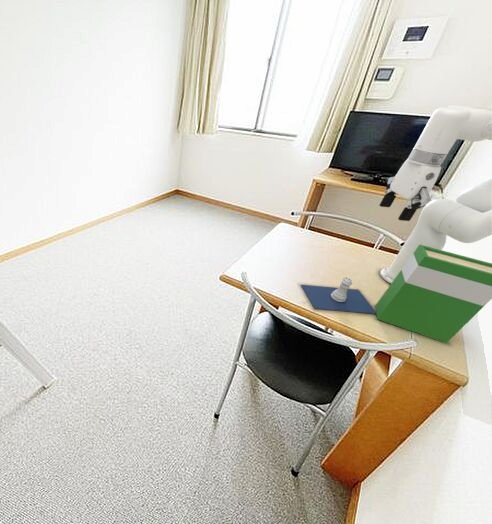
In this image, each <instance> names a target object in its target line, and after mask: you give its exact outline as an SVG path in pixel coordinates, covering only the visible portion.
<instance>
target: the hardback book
mask: <svg viewBox="0 0 492 524" xmlns="http://www.w3.org/2000/svg"><path fill="white" fill-rule="evenodd" d="M490 301H492V262H488V261H484V260H481V259H478V258H477V259H476V258H473V257H469V256H465V255H461V254H458V253H455V252H450V251H446V250H443V249H442V250H439V249H435V248H431V247H427V246H423V245H419V246H418V247H417V249H416V250H415V252H414V253H413V254H412V256H411V257H410V258H409V260H408V261H407V263H406V264H405V265H404V267H403V268H402V269H401V271H400V272H399V274H398V275H397V276H396V278H395V279H394V280H393V282H392V283H391V284H389V286H388V287H387V288H386V289H385V291H384V293H383V294H382V295H381V296H380V298H379V300H378V301H377V303H376V304H375V305H374V307H375V311H376V313H377V314H376V318H377V320H379V321H380V322H381V321H382V322H385V323H387V324H391V325H393V326H395V327H399V328H402V329H404V330H406V331H410V332H413V333H416V334H419V335H421V336H425V337H427V338H431V339H433V340H436V341H438V342H441V343H445V344H448V343H449V342H450V340H452V338H454V336H456V335H457V333H459V332H460V331H461V329H463V327H465V326H466V325H467V324H468V323H469V322H470V321H471V320H472V319H473V318H474V317H475V316H476V315H477V314H478V313H479V312H480V311H481V310H482V309H483V308H484V307H485V306H486V305H487V304H488V303H489V302H490Z"/></svg>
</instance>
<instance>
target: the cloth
mask: <svg viewBox="0 0 492 524" xmlns="http://www.w3.org/2000/svg"><path fill="white" fill-rule="evenodd" d="M300 286H301V288H302V289H303V291H304V293H305V295H306V297H307V298H308V300H309V302H310V304H311V305H312V307H313V309H314V310H323V311H335V312H347V313H357V314H358V313H359V314H367V315H369V314H370V315H377V313H376V309H375V308H374V307H373V306H372V305H371V304H370V302H369V301H368V300H367V298H366V297H365V296H364V295H363V293H362V292H361V291H360V290H359V289H357V288H356V289H355V288H348V290H347V292H346V296H347V297H346V299H345V301H344V302H338V301H335V300H334V299H332V297H331V294H332V292H333V291H335V290H337V289H338V288H339V287H334V286H333V287H331V286H322V285H321V286H320V285H311V284H310V285H309V284H301V285H300Z"/></svg>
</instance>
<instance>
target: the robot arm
mask: <svg viewBox="0 0 492 524" xmlns="http://www.w3.org/2000/svg"><path fill="white" fill-rule="evenodd" d="M457 140H460V141H467V142H470V143H471V142H481V141H486V140H488V141H492V106H487V105H486V106H485V105H469V104H451V105H447V106H444V107H438V108H436V109H435V110H434V111H433V113H432V114H431V116H430V118H429V119H428V121H427V122H426V125H425V127H424V128H423V130H422V132H421V133H420V135H419V138H418V139H417V141H416V143H415V145H414V147H413V148H412V150H411V152H410V154H409V155H408V158H407V159H406V160H405V161H404V162H403V163H402V164H401V166H400V168H399V170H398V171H397V173H396V174H395V176H390V177H388V179H387V184H386V187H385V188H386V190H384V196H383V198H382V200H381V201H380V203H379V205H378V206H379V207H381V208H391V206H392V205H393V203H394V201H395V200H396V198H397V195H398V196H399V197H401V198H403V199H405V200H406V201H407V203H406V204H407V205H406V206H404V208H403V209H402V211H401V213H400V215H399V216H398V220H399V221H403V222H410V221H411V220H412V218H414V216H415V213H416V212H417V210H420V209H421V208H422V210H421V211H420V213H419V216H418V219H417V222H416V224H415V226H414V228H413V230H412V231H411V232H410V235H409V236H408V238H407V239H406V241H405V242H404V244H403V245H402V247H401V249H400V250H399V252H398V253H397V254H396V256H395V258H394V260H393V261H392V263H390V264H389V267H383V268H382V269H381V270H380V272H379V274H380V277H381V278H382V279H383V280H384V281H386V282H387V283H389V285H391V283H392V282H393V280H394V279H395V278H396V276H397V275H398V274H399V272H400V271H401V269H402V268H403V267H404V265H405V264H406V263H407V261H408V260H409V258H410V257H411V256H412V254H413V253H414V252H415V250H416V249H417V247H418V246H419V245H423V246H427V247H431V248H435V249H439V250H442V251H443V248H444V247H445V246H446V243H447V237H449V238H451V239H453V240H456V241H457V242H459V243H464V244H472V243H477V242H478V241H481V240H484V239H485V238H487V237H490V236H492V176H490V177H487V178H486V179H483V180H482V181H480V182H478V183H476V184H474V185H472V186H470V187H468V188H466V189H465V190H463V191H462V192H460V194H459V195H457V197H456V199H455V200H451V199H447V198H437V199H433V200H432V197H431V195H430V193H431V191H432V190H433V188H434V186H435V184H436V182H437V180H438V178H439V176H440V173H441V169H442V166H441V165H442V163H444V161H445V159H446V158H447V155H449V152H450V151H451V149H452V148H453V146H454V144H455V143H456V141H457Z"/></svg>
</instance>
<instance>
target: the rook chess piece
mask: <svg viewBox="0 0 492 524" xmlns="http://www.w3.org/2000/svg"><path fill="white" fill-rule="evenodd" d="M351 286H353V279H351V278H350V277H349V278H348V277H343V278H342V279H340V283H339V286H338V287H337V288H338V289H337V290H335V291H333V292H332V294H331V297H332V299H334V300H335V301H338V302H344V301H345V299H346V297H347V296H346V292H347V290H348V289H351V288H350V287H351Z"/></svg>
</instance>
